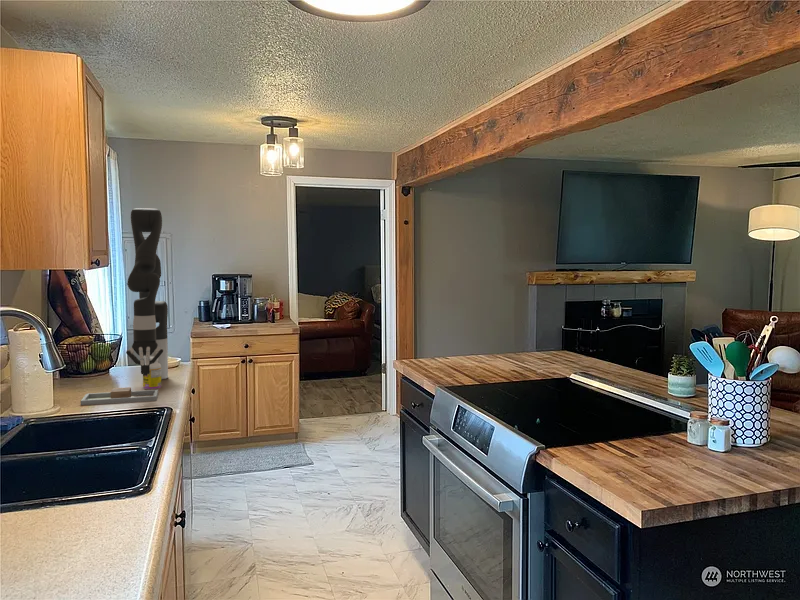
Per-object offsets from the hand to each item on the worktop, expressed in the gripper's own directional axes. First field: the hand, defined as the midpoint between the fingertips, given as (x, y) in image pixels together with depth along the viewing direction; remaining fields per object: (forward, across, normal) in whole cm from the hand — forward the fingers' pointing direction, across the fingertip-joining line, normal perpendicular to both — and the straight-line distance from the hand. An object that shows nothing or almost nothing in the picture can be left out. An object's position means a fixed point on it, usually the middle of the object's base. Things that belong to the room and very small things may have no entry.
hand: (145, 375), depth 212 cm
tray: (+9, +8, 0) cm, 12 cm away
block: (+8, +8, 0) cm, 12 cm away
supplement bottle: (+9, -1, -18) cm, 21 cm away
